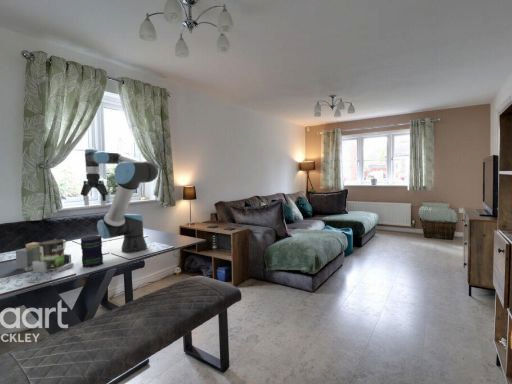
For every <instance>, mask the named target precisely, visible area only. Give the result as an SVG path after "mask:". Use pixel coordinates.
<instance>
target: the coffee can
mask: <svg viewBox="0 0 512 384" xmlns="http://www.w3.org/2000/svg"><path fill="white" fill-rule="evenodd" d="M63 240H64V239H56V240H54V239H50V240H45V241H41V242H38V243H39V246H40V259H41V261H43V262H47V272H51V271H50V270H52V271H57V270H56V269H57V268H58V267H61V266H64V265H66V264H65V262H64V254H65V253H64V252H65V250H64V248H63Z"/></svg>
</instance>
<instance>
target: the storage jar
mask: <svg viewBox="0 0 512 384" xmlns="http://www.w3.org/2000/svg"><path fill="white" fill-rule="evenodd" d="M102 239H103V238H102V237H101V236H100V235H89V236H84V237H82V238H80V246H81V247H80V249H81V264H82V268H85V269H86V268H87V269H90V268H96V267H100V266H101V265H103V264H104V255H103V248H102V247H103V241H102Z"/></svg>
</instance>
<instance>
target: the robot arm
mask: <svg viewBox="0 0 512 384" xmlns="http://www.w3.org/2000/svg"><path fill="white" fill-rule="evenodd" d="M84 160H85V161H84V162H85V173H86V175H85V176H86V180H83V185H82V187H81V192H80V196H83V197H82V198H83V201H84V207H87V206H90V199H89V195H88V194H89V193H90V192H91V190H92V188H93V189H94V188H95V189H96V190H97V191H98V192H99V193H98V194H100V206H101V207H106V200H107V199H106V198H107V197H106V196H109V191H108V189H107V188H106V185H105V183H104V180H100V179H101V177H100V175H101V173H100V164H101V165H102V164H104V165H107V164H108V165H112V164H113V165H116V166H115V169H114V174H113V176H114V180H115V182H116V184H117V186H116V187H117V188H116V190H115V193H114V197H113V199H112V203H111V205H110V209H109V211H108V213H106V214H105V215H104V217H103V219H99V220H97V224H96V227H97V232H98V234H99V235H98V236H101V239H103V240H104V239H105V240H106V239H108V240H109V239H112V238H117V237H122V236H123V240H122V241H123V242H122V245H121V252H123V253H124V252H125V253H135V251H136V252H140V250H141V251H144V250H146V249H147V248H148V244H147V243H146V240H145V237H144V219H143V218H144V217H143V216H142V214H138V213H126V212H127V211H128V208H129V205H130V202H131V199H132V197H133V194H134V192H135V190H137V189H139V187H140V185H141V184H143V183H144V184H145V183H151V182H153V181H155V180H156V179H157V178H158V176H159V168H158V166H157V165H156V164H155V163H153V162H152V161H151V162H150V161H143V160H141V159H137V158H135V157H133V156H130V154H129V153H128V152H118V151H117V152H114V151H113V152H111V151H102V150H101V151H100V150H99V149H96V148H89V149H85V150H84ZM145 248H146V249H145ZM143 249H144V250H143Z"/></svg>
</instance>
